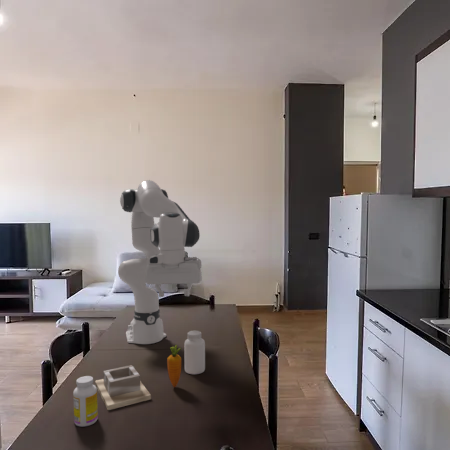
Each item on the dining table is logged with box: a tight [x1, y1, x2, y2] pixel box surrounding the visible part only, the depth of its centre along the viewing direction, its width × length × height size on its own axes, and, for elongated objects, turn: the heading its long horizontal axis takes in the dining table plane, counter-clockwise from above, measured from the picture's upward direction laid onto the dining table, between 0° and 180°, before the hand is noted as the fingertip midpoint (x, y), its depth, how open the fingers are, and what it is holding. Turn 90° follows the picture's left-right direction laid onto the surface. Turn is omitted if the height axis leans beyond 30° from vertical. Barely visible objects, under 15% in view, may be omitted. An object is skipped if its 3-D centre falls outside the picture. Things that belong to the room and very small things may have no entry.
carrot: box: [166, 344, 182, 388], centre depth 137 cm, size 5×5×15 cm
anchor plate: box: [94, 364, 152, 411], centre depth 134 cm, size 20×14×6 cm
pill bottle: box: [183, 330, 206, 375], centre depth 151 cm, size 8×8×15 cm
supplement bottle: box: [72, 375, 99, 427], centre depth 116 cm, size 7×7×13 cm
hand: (174, 296), depth 140 cm, fingers open, 8 cm apart
